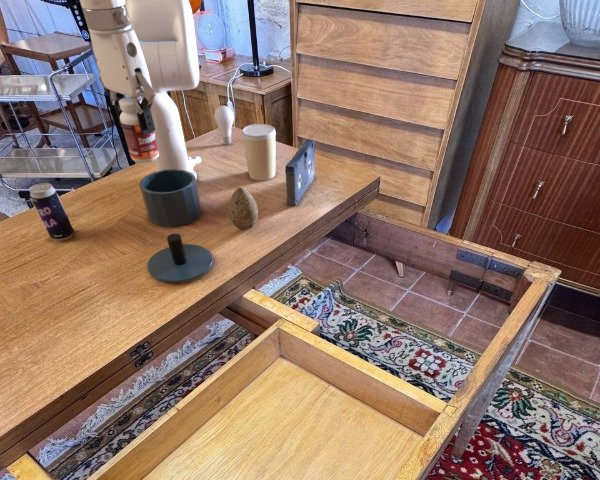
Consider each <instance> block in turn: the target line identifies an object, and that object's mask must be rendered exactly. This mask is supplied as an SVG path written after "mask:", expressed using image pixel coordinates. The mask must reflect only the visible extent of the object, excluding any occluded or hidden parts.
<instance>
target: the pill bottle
mask: <svg viewBox="0 0 600 480" xmlns="http://www.w3.org/2000/svg"><path fill="white" fill-rule="evenodd" d="M138 100H139V102H140V104H141V101H142V99H141V98H140V97H138ZM119 105H120V108H121V110H122V111H123V112H122V113H121V115H120V121H121V125H122V127H121V128H122V131H123V134H124V138H125V142H126V145H127V149H128V152H129V155H130V158H131V161H133V162H136V163H143V164H145V163H151V162H154V160H155V159H157V158H158V156H159V151H158V147H157V143H156V139H155V135H154V131H153V132H151V133H148V134H146V135H144V134H142V132H141V128H140V125H139V121H138V117H137V113H138V110H137V108H136V106H135V104H134V102H133V100H132V98H131V96H125V98H122V99H121V100H119Z"/></svg>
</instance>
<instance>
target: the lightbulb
mask: <svg viewBox="0 0 600 480" xmlns="http://www.w3.org/2000/svg"><path fill="white" fill-rule="evenodd" d="M213 115H214V116H213V118H214V122H215V124H216V125H217V127H218V129H219V131H220V134H221V136H222V141H223V143H224V144H225V146H228V145H230V144H231V143H232V127H233V124H234V122H235V121H234V120H235V116H234V112H233V111H232V109H231V108H230V107H228V106H227V105H219V106H218V107H216V109H215V111H214V114H213Z"/></svg>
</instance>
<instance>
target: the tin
mask: <svg viewBox="0 0 600 480" xmlns="http://www.w3.org/2000/svg"><path fill="white" fill-rule="evenodd" d="M139 189H140V192H141V196H142V199H143V203H144V205H145V209H146V212H147V216H148V218H149V220H150V222H151V223H153V225H156V226H160V227H164V228H177V227H183V226H186V225H189V224H191V223H193V222H195V221H196V220H198V219H199V218H200V217H201V215H202V204H201V197H200V193H199V189H198V183H197V179H196V178H195V176H194V175H193V174H192V173H191V172H188V171H185V170H179V169H168V170H161V171H157V172H156V171H153V172H151V173H149V174H147V175H145V176H144V177H143V178H142V179H141V180H140V181H139Z"/></svg>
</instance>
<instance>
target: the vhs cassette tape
mask: <svg viewBox="0 0 600 480" xmlns="http://www.w3.org/2000/svg"><path fill="white" fill-rule="evenodd" d="M315 150H316V143H315V139H306V140H305V141H304V142H303V144H302V145H301V146H300V147H299V148H298V150H297V151H296V152H295V154H294V155H293V156H292V158H291V159H290V160H289V162H288V163H287V164H286V165H285V169H284V170H285V186H286V204H287V205H288V206H295V207H296V206H297V205H298V203H299V202H300V200H301V199H302V197H303V196H304V194H305V193H306V191H307V190H308V188H309V187H310V185H311V184H312V182H313V180H314V179H315V177H316V176H315V175H316V173H315V172H316V170H315V168H316V157H315V156H316V155H315V153H316V151H315Z"/></svg>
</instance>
